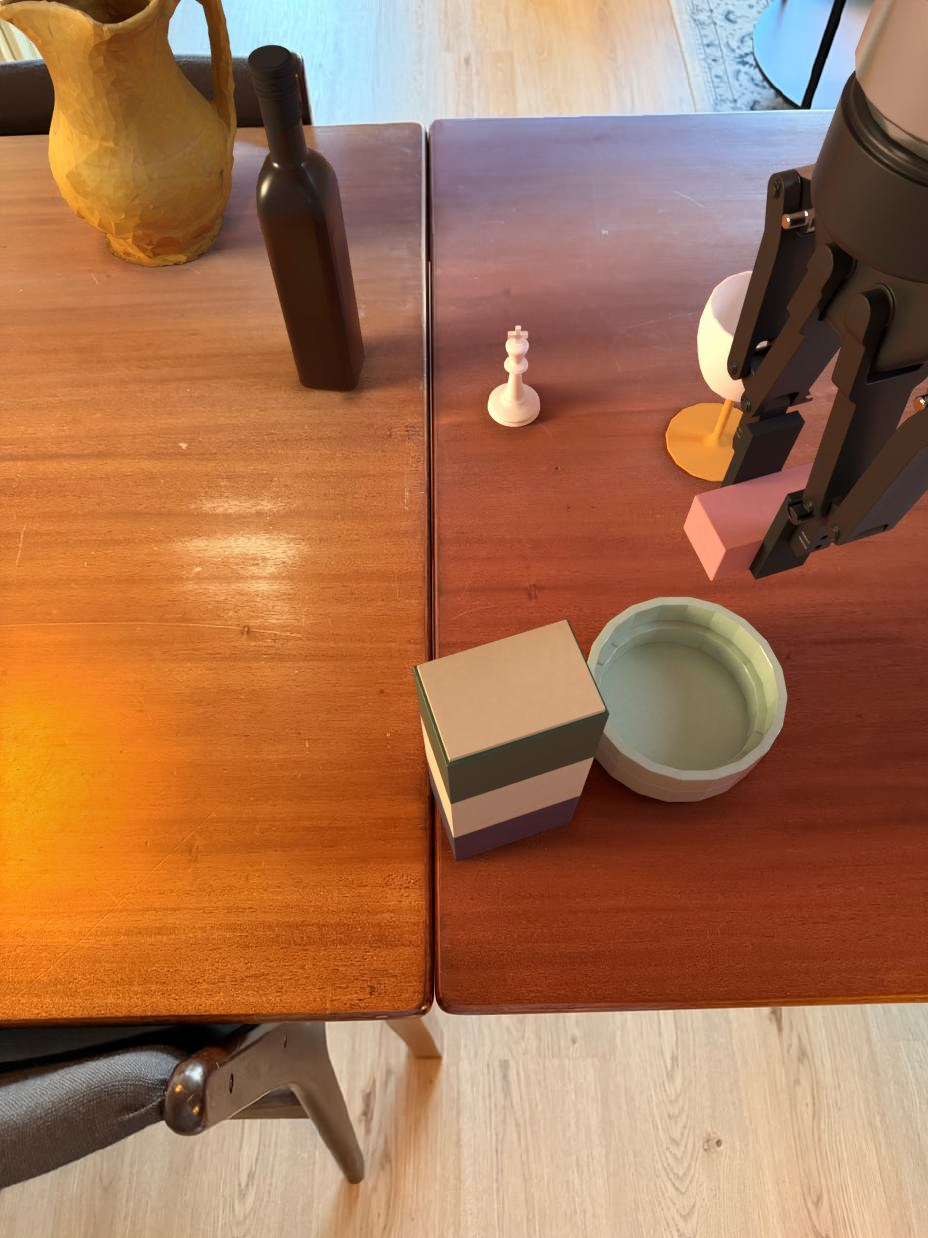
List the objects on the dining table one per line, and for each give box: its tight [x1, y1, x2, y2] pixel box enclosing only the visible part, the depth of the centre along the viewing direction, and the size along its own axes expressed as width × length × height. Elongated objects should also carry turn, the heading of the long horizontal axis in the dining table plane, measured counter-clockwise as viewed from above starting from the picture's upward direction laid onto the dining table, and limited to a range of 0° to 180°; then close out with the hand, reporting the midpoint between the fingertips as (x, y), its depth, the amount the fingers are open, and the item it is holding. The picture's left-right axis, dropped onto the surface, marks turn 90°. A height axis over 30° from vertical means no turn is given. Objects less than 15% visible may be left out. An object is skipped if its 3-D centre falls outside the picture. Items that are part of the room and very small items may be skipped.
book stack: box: [412, 618, 609, 862], centre depth 58 cm, size 6×9×22 cm, turn 108°
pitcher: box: [0, 0, 238, 268], centre depth 86 cm, size 17×19×25 cm
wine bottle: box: [247, 44, 366, 393], centre depth 74 cm, size 6×6×30 cm
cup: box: [665, 270, 767, 482], centre depth 76 cm, size 9×9×16 cm
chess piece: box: [487, 325, 541, 428], centre depth 81 cm, size 5×5×10 cm
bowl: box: [587, 596, 788, 803], centre depth 68 cm, size 14×14×6 cm
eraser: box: [683, 461, 835, 582], centre depth 46 cm, size 7×4×3 cm, turn 108°
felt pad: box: [416, 619, 605, 762], centre depth 48 cm, size 6×9×1 cm, turn 109°
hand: (757, 533), depth 47 cm, fingers closed on eraser, 3 cm apart
